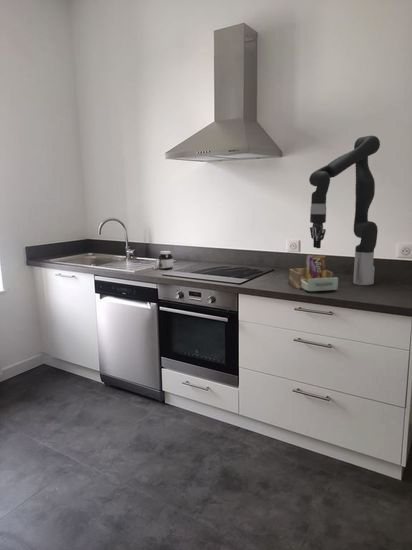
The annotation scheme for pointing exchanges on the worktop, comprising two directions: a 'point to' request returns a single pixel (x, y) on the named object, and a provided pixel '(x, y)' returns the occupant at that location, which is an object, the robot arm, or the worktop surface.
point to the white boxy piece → (320, 284)
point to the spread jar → (164, 261)
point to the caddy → (301, 277)
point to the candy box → (315, 267)
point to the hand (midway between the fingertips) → (316, 247)
